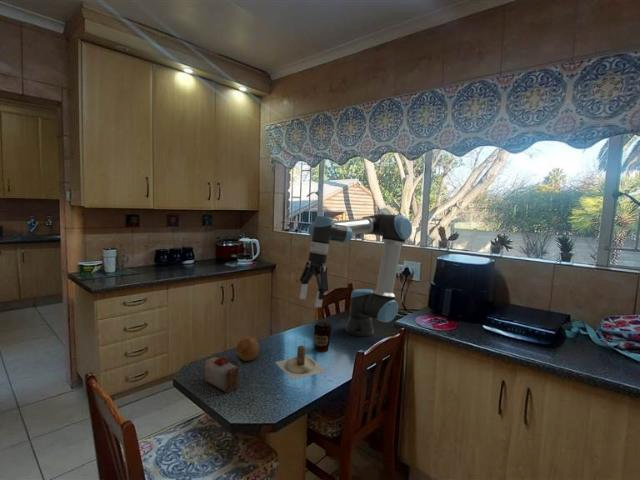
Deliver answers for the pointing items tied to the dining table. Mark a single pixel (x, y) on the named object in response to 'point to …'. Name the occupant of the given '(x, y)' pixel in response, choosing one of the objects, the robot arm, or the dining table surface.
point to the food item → (222, 374)
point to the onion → (248, 348)
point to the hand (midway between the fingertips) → (310, 302)
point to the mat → (295, 375)
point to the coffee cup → (322, 336)
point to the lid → (300, 363)
